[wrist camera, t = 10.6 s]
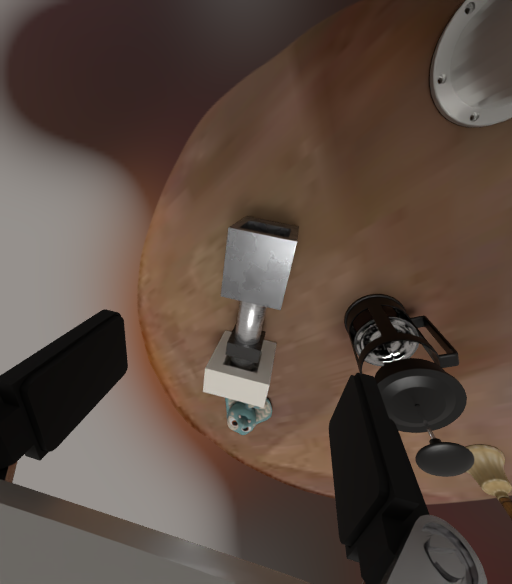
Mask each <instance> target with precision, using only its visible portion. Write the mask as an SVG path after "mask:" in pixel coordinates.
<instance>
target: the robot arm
mask: <svg viewBox="0 0 512 584" xmlns="http://www.w3.org/2000/svg"><path fill="white" fill-rule="evenodd" d="M465 11H467V14H466V13H465ZM438 80H440V84H438V82H437V81H438ZM430 88H431V95H432V98H433V100H434V103H435V106H436V107H437V109H438V110H439V111H440V113H441V114H442V115H443V116H444V117H445V118H446V119H448V120H449V121H451V122H453V123H455V124H457V125H460V126H465V127H484V126H489V125H494V124H497V123H500V122H503V121H506V120H508V119H510V118H512V0H466V1H465V2H464V3H463V4H462V5H461V6H460V8H459V9H458V10H457V11H456V13H455V14H454V15H453V17H452V18H451V20H450V21H449V22H448V24H447V25H446V27H445V29H444V31H443V33H442V35H441V37H440V39H439V41H438V43H437V46H436V49H435V52H434V54H433V59H432V63H431V68H430ZM470 116H471V117H472V120H471V121H470ZM127 368H128V364H127V352H126V341H125V331H124V320H123V318H122V317H121V315H120V314H119V313H118V312H113V311H110V310H102V311H100V312H99V313H97V314H95V315H94V316H92V317H91V318H89V319H88V320H86V321H84V322H83V323H82V324H80V325H78V326H77V327H75V328H74V329H72V330H70V331H69V332H67V333H66V334H64V335H63V336H61V337H60V338H58V339H56V340H55V341H53V342H52V343H50V344H49V345H47V346H46V347H44V348H43V349H41V350H40V351H38V352H37V353H35V354H33V355H32V356H30V357H29V358H27V359H25V360H24V361H22V362H21V363H19V364H18V365H16V366H15V367H13V368H12V369H10V370H8V371H7V372H5V373H4V374H2V375H1V376H0V584H311V583H308V582H306V581H303V580H300V579H297V578H294V577H292V576H289V575H286V574H283V573H281V572H278V571H275V570H272V569H269V568H266V567H263V566H260V565H257V564H254V563H251V562H248V561H246V560H243V559H240V558H237V557H234V556H231V555H228V554H225V553H222V552H219V551H216V550H213V549H210V548H207V547H204V546H201V545H198V544H195V543H192V542H189V541H186V540H183V539H180V538H177V537H174V536H171V535H168V534H165V533H162V532H159V531H156V530H153V529H150V528H147V527H144V526H141V525H138V524H135V523H132V522H129V521H126V520H123V519H120V518H117V517H114V516H111V515H108V514H105V513H102V512H99V511H96V510H93V509H90V508H87V507H84V506H81V505H78V504H74V503H72V502H69V501H65V500H62V499H60V498H56V497H53V496H50V495H47V494H44V493H41V492H38V491H35V490H32V489H29V488H26V487H23V486H20V485H16V484H13V483H12V481H13V477H14V473H15V469H16V464H17V461H18V460H19V459H20V458H21V456H23V455H24V454H25V455H26V456H28V457H31V458H34V459H37V460H41V459H42V458H43V457H44V456H45V455H46V454H47V453H48V452H49V451H53V450H54V449H56V448H57V447H58V446H59V445H60V444H61V442H62V441H63V440H64V439H65V438H66V437H67V436H68V435H69V434H70V433H71V432H72V431H73V430H74V428H75V427H76V426H77V425H78V424H79V423H80V422H81V421H82V420H83V419H84V418H85V416H86V415H87V414H88V413H89V412H90V411H91V410H92V409H93V408H94V407H95V406H96V404H98V402H99V401H100V400H101V399H102V398H103V397H104V396H105V395H106V394H107V393H108V392H109V391H110V390H111V388H112V387H113V386H114V385H115V384H116V383H117V382H118V381H119V380H120V379H121V378H122V377H123V375H124V374H125V373H126V371H127ZM329 437H330V448H331V458H332V468H333V478H334V489H335V499H336V509H337V520H338V529H339V538H340V541H341V543H342V544H345V546H346V555H347V559H351V560H353V561H356V562H359V563H360V570H361V577H362V578H363V580H364V581H363V583H362V584H487V580H486V576H485V573H484V570H483V567H482V565H481V563H480V561H479V559H478V557H477V555H476V553H475V552H474V550H473V549H472V548H471V546H470V545H469V544H468V542H467V541H466V539H465V538H464V537H463V536H462V535H461V534H460V533H459V532H458V531H457V530H456V529H455V528H453V527H452V526H451V525H450V524H448V523H447V522H446V521H444V520H442V519H440V518H438V517H436V516H432V515H429V512H428V509H427V507H426V504H425V501H424V499H423V496H422V493H421V491H420V488H419V485H418V483H417V480H416V477H415V475H414V472H413V469H412V467H411V464H410V461H409V459H408V456H407V453H406V450H405V448H404V445H403V442H402V440H401V437H400V434H399V432H398V429H397V426H396V424H395V422H394V421H393V420H392V419H389V416H388V413H387V411H386V408H385V405H384V402H383V399H382V397H381V394H380V391H379V388H378V385H377V383H376V380H375V378H374V377H373V376H370V375H366V374H362V373H357V374H356V375H355V376H353V375H351V376H350V378H349V380H348V382H347V384H346V387H345V389H344V391H343V393H342V396H341V398H340V400H339V402H338V404H337V407H336V409H335V411H334V413H333V416H332V418H331V420H330V423H329Z"/></svg>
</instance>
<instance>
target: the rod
mask: <svg viewBox="0 0 512 584" xmlns="http://www.w3.org/2000/svg"><path fill="white" fill-rule="evenodd" d="M265 312H266V307H265V306H261V305H256V304H252V303H248V302H244V301H240V305H239V312H238V318H237V324H236V325H235V327H234V329H233V331H232V333H231V335H230V337H229V340H228V342H227V347H226V354H225V355H228V356H232V357H231V364H230V366H231V367H235V368H239V369H243V370H246V371H250V372H253V369H254V364H255V363H258V361H259V357H260V353H261V349H262V345H263V341H264V337H265V331H262V326H263V321H264V317H265Z"/></svg>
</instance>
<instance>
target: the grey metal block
mask: <svg viewBox="0 0 512 584" xmlns="http://www.w3.org/2000/svg"><path fill="white" fill-rule="evenodd" d="M298 230H299V226H294V225H289V224H284V223H279V222H274V221H269V220H264V219H259V218H254V217H249V216H246V217H245V218H243V219H241V220H240V221H238V222H237V223H235V224H233V225H232V226H230V227H229V228H228V237H227V246H226V254H225V263H224V272H223V281H222V290H221V296H222V297H226V298H231V299H235V300H239V301H244V302H248V303H252V304H256V305H261V306H265V307H269V308H274V309H278V310H281V306H282V302H283V298H284V294H285V290H286V286H287V281H288V277H289V273H290V269H291V265H292V261H293V257H294V252H295V248H296V244H297V238H298Z"/></svg>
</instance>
